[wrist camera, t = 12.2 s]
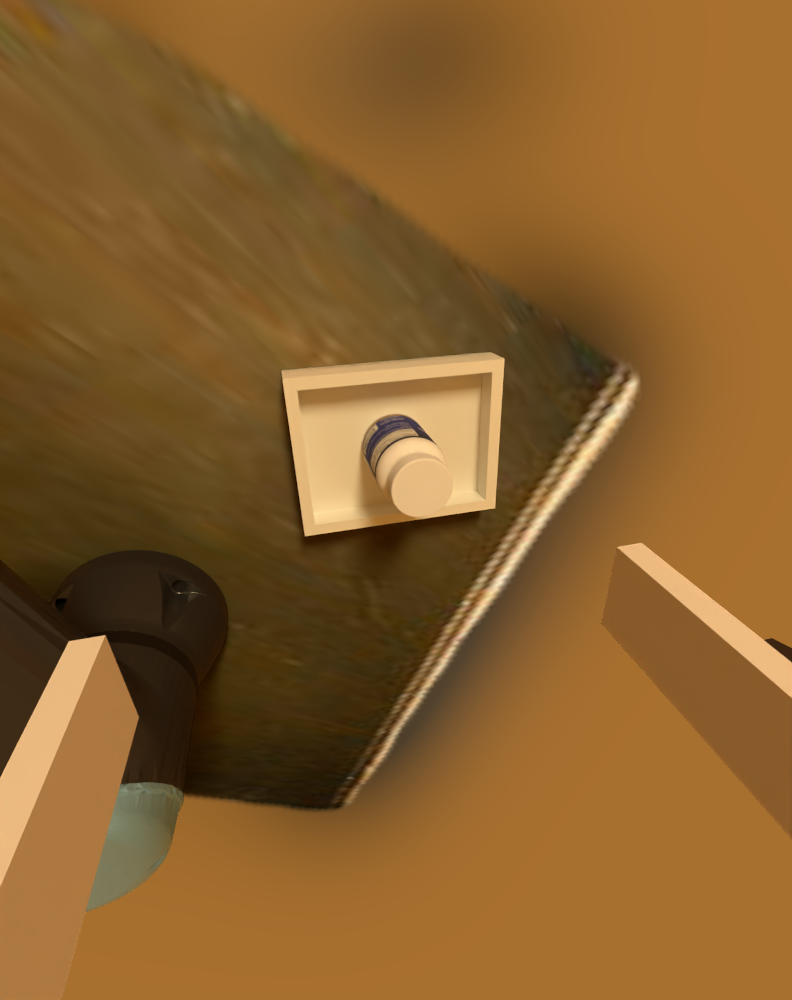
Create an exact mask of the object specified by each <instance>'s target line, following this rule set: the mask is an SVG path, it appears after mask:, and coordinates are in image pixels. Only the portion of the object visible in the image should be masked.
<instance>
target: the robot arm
mask: <svg viewBox="0 0 792 1000" xmlns="http://www.w3.org/2000/svg"><path fill="white" fill-rule="evenodd" d="M227 618H228V612H227V606H226V602H225V599H224V596H223V594H222V592H221V590H220V589H219V587H218V586H217V584H216V583H215V582H214V581H213V580H212V579H211V578H210V577H209V576H208V575H207V574H206V573H205V572H204V571H202V570H201V569H200V568H198V567H196V566H195V565H193V564H191V563H189V562H188V561H185V560H183V559H181V558H178V557H175V556H172V555H169V554H164V553H160V552H153V551H136V550H135V551H122V552H116V553H111V554H107V555H104V556H101V557H98V558H95V559H93V560H91V561H89V562H87V563H85V564H83V565H82V566H80V567H79V568H77V569H76V570H75V571H73V572H72V573H71V574H70V575H69V576H68V577H67V578H66V579H65V580H64V582H63V583H62V584H61V586H60V587H59V589H58V591H57V592H56V594H55V596H54V597H53V599H52V601H51V603H50V604H49V603H48V602H47V601H45V600H44V599H43V598H42V597H41V596H40V595H39V594H37V593H36V592H35V591H34V590H33V589H32V588H31V587H30V586H28V585H27V584H26V583H25V582H24V581H23V580H22V579H21V578H20V577H18V576H17V575H16V574H15V573H14V572H13V571H12V570H11V569H10V568H9V567H7V566H6V565H5V564H4V563H3V562H2V561H1V560H0V1000H61V999H62V996H63V992H64V989H65V985H66V981H67V978H68V974H69V970H70V967H71V963H72V960H73V956H74V952H75V949H76V945H77V941H78V938H79V934H80V930H81V927H82V923H83V919H84V916H85V912H87V911H90V910H93V909H96V908H99V907H101V906H104V905H106V904H108V903H111V902H112V901H115V900H117V899H119V898H121V897H123V896H124V895H126V894H128V893H129V892H131V891H132V890H134V889H136V888H137V887H139V886H140V885H141V884H142V883H144V882H145V881H146V880H147V879H148V878H149V877H150V876H151V875H152V874H153V873H154V872H155V871H156V870H157V869H158V868H159V866H160V865H161V864H162V862H163V861H164V859H165V857H166V855H167V853H168V851H169V849H170V846H171V843H172V838H173V834H174V829H175V825H176V820H177V816H178V812H179V811H180V809H181V806H182V805H183V799H184V795H183V791H184V784H185V777H186V769H187V762H188V755H189V748H190V741H191V733H192V726H193V719H194V712H195V704H196V697H197V691H198V687H199V685H200V684H201V682H202V680H203V679H204V677H205V676H206V674H207V672H208V671H209V669H210V667H211V666H212V664H213V662H214V661H215V659H216V658H217V656H218V655H219V653H220V651H221V649H222V646H223V643H224V640H225V636H226V628H227ZM602 625H603V626H604V627H605V628H606V629H607V630H608V631H609V633H610V634H611V635H612V636H613V637H614V638H615V639H616V641H617V642H618V643H619V644H620V645H621V646H622V647H623V649H624V650H625V651H626V652H627V653H628V654H629V655H630V656H631V657H632V658H633V660H634V661H635V662H636V663H637V664H638V665H639V667H640V668H641V669H642V670H643V671H644V672H645V673H646V675H647V676H648V677H649V678H650V679H651V680H652V681H653V682H654V683H655V685H656V686H657V687H658V688H659V689H660V690H661V692H662V693H663V694H664V695H665V696H666V697H667V698H668V699H669V700H670V702H671V703H672V704H673V705H674V706H675V707H676V708H677V710H678V711H679V712H680V713H681V714H682V715H683V716H684V718H685V719H686V720H687V721H688V722H689V723H690V724H691V725H692V726H693V728H694V729H695V730H696V731H697V732H698V733H699V735H701V737H702V738H703V739H704V740H705V741H706V742H707V743H708V745H709V746H710V747H711V748H712V749H713V750H714V751H715V753H716V754H717V755H718V756H719V757H720V758H721V759H722V760H723V762H724V763H725V764H726V765H727V766H728V767H729V768H730V770H731V771H732V772H733V773H734V774H735V775H736V776H737V777H738V778H739V780H740V781H741V782H742V783H743V784H744V785H745V787H746V788H747V789H748V790H749V791H750V792H751V793H752V795H753V796H754V797H755V798H756V799H757V800H758V801H759V802H760V804H761V805H762V806H763V807H764V808H765V809H766V810H767V812H768V813H769V814H770V815H771V816H772V817H773V818H774V819H775V821H776V822H777V823H778V824H779V825H780V826H781V827H782V828H783V830H784V831H785V832H786V833H787V834H788V835H789V836H790V838H791V839H792V648H790V647H788V646H786V645H784V644H782V643H780V642H778V641H776V640H774V639H772V638H771V639H767V640H763V639H762V638H760V637H759V636H758V635H757V634H755V633H754V632H753V631H752V630H750V629H749V628H748V627H747V626H745V625H744V624H743V623H741V622H740V621H739V620H738V619H736V618H735V617H734V616H733V615H731V614H730V613H729V612H728V611H726V610H725V609H724V608H723V607H721V606H720V605H719V604H718V603H716V602H715V601H714V600H713V599H711V598H710V597H709V596H708V595H706V594H705V593H704V592H702V591H701V590H700V589H699V588H697V587H696V586H695V585H694V584H692V583H691V582H690V581H688V580H687V579H686V578H685V577H684V576H682V575H681V574H680V573H679V572H677V571H676V570H675V569H673V568H672V567H671V566H670V565H669V564H667V563H666V562H665V561H663V560H662V559H661V558H660V557H658V556H657V555H656V554H655V553H653V552H652V551H651V550H650V549H648V548H647V547H646V546H645V545H643V544H642V543H639V544H633V545H627V546H621V547H617V549H616V554H615V559H614V564H613V569H612V574H611V579H610V584H609V589H608V594H607V599H606V604H605V609H604V614H603V619H602Z"/></svg>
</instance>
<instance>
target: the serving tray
mask: <svg viewBox="0 0 792 1000" xmlns="http://www.w3.org/2000/svg"><path fill="white" fill-rule="evenodd" d="M281 372H282V380H283V387H284V394H285V401H286V408H287V415H288V422H289V429H290V436H291V443H292V450H293V457H294V464H295V471H296V478H297V485H298V492H299V499H300V506H301V513H302V520H303V527H304V534H305V536H311V535H317V534H324V533H331V532H338V531H344V530H351V529H358V528H364V527H371V526H378V525H385V524H391V523H398V522H405V521H412V520H418V519H425V518H432V517H439V516H445V515H452V514H459V513H466V512H472V511H479V510H486V509H493V508H495V500H496V484H497V469H498V453H499V437H500V421H501V406H502V390H503V374H504V358H502V357H500V356H498V355H495V354H493V353H491V352H485V353H473V354H462V355H450V356H439V357H427V358H416V359H404V360H393V361H381V362H370V363H358V364H347V365H335V366H324V367H312V368H301V369H289V370H281ZM392 413H398V414H404V415H407V416H409V417H411V418H413V419H414V420H415V421H416V422H417V423H418V424H419V425H420V426H421V427H422V428H423V429H424V431H425V432H426V433H427V434H428V435H429V436H430V438H431V439H432V440H433V441H434V442H435V443H436V444H437V446H438V447H439V448H440V449H441V451H442V452H443V454H444V456H445V459H446V462H447V468H448V470H449V471H450V473H451V476H452V480H453V489H452V493H451V496H450V498H449V500H448V501H447V503H446V504H445V505H444V506H443V507H442V508H441V509H440V510H439V511H437V512H436V513H434V514H432V515H429V516H426V517H411V516H408V515H405V514H403V513H402V512H401V511H399V510H398V509H397V508H396V506H395V505H394V503H393V502H391V501H390V500H388V499H387V498H386V497H385V496H384V495H383V494H382V492H381V491H380V489H379V488H378V485H377V483H376V481H375V479H374V477H373V475H372V473H371V471H370V469H369V467H368V465H367V463H366V460H365V458H364V455H363V451H362V441H363V437H364V434H365V432H366V430H367V428H368V427H369V426H370V425H371V424H372V423H373V422H374V421H375V420H376V419H378V418H380V417H381V416H384V415H387V414H392Z"/></svg>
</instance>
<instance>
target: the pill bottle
mask: <svg viewBox="0 0 792 1000" xmlns="http://www.w3.org/2000/svg"><path fill="white" fill-rule="evenodd" d="M362 451H363V455H364V458H365V460H366V463H367V465H368V467H369V469H370V471H371V473H372V475H373V477H374V479H375V481H376V483H377V485H378V488H379V489H380V491H381V492H382V494H383V495H384V496H385V497H386V498H387V499H388V500H390V501H391V502H393V503H394V505H395V506H396V508H397V509H398V510H399V511H401V512H402V513H403V514H405V515H408V516H411V517H426V516H429V515H432V514H434V513H436V512H437V511H439V510H440V509H441V508H442V507H443V506H444V505H445V504H446V503H447V501H448V500H449V498H450V496H451V493H452V489H453V480H452V476H451V473H450V471H449V470H448V468H447V462H446V459H445V456H444V454H443V452H442V451H441V449H440V448H439V447H438V446H437V444H436V443H435V442H434V441H433V440H432V439H431V438H430V436H429V435H428V434H427V433H426V432H425V431H424V429H423V428H422V427H421V426H420V425H419V424H418V423H417V422H416V421H415V420H414V419H413V418H411V417H409V416H407V415H404V414H398V413H392V414H387V415H384V416H381V417H380V418H378V419H376V420H375V421H374V422H373V423H372V424H371V425H370V426H369V427H368V428H367V430H366V432H365V434H364V437H363V441H362Z"/></svg>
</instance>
